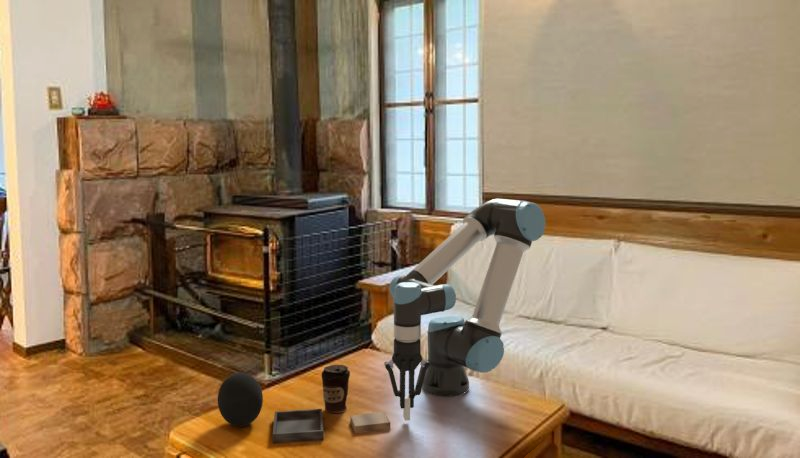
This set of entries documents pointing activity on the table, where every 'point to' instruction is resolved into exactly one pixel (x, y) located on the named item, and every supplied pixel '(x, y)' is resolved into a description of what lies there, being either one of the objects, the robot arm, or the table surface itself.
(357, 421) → the beige rectangular box
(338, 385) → the coffee cup
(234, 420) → the decorative egg
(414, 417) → the table surface
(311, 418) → the tray
